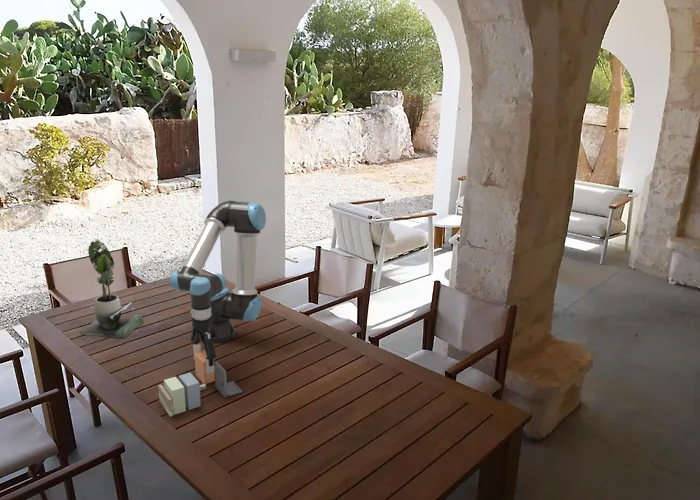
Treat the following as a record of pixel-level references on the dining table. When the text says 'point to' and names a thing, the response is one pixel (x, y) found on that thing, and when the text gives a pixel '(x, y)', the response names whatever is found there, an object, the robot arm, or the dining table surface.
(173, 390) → the book sage
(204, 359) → the book rust
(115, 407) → the dining table surface
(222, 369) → the bookend
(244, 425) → the dining table surface
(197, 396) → the book slate
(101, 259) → the potted plant
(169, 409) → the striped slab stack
